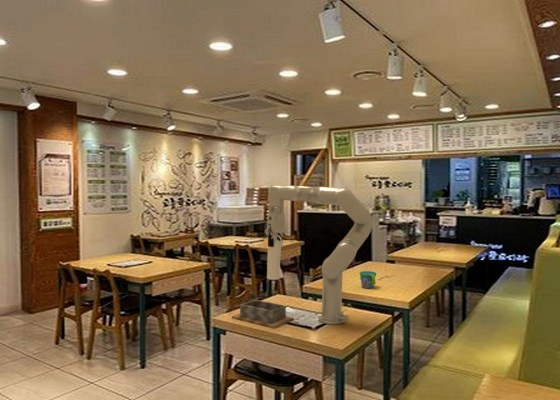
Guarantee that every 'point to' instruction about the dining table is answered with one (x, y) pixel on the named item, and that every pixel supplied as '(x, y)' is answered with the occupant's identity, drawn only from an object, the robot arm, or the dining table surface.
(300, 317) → the dining table surface
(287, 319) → the caddy
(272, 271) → the fire extinguisher
